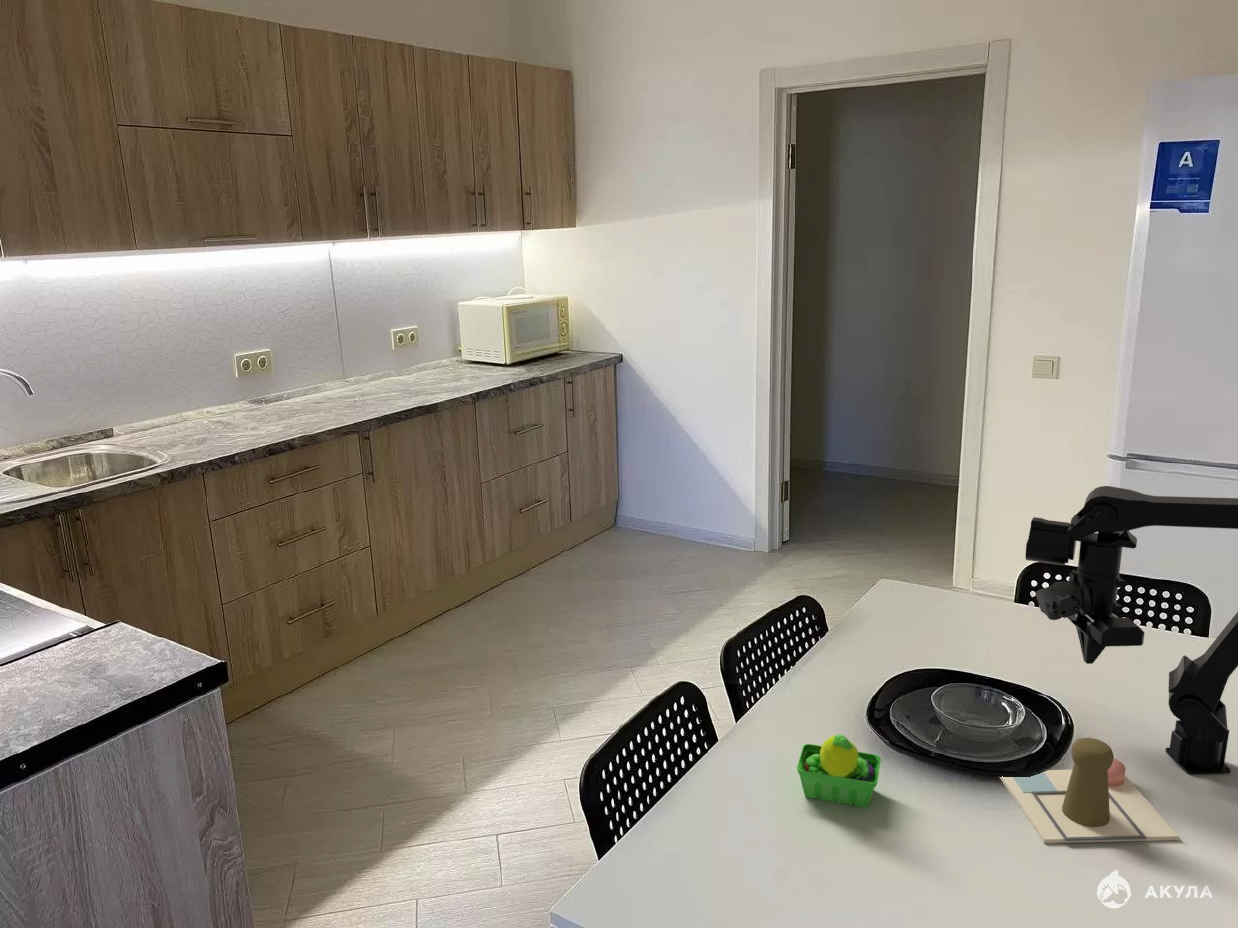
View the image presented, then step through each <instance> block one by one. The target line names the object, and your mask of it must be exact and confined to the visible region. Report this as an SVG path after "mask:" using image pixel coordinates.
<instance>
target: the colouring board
mask: <svg viewBox="0 0 1238 928" xmlns="http://www.w3.org/2000/svg"><path fill="white" fill-rule="evenodd" d="M1046 770H1047V771H1045V772H1042V773H1040V774H1037V775H1034V776H1031V777H1003V776H1002V777H999V779H1000V780H1001V782H1002V783H1003V785H1004V786H1005V787H1006V790H1007V791H1008V792H1009V794H1010V795H1011V797H1012V798H1013V799H1014V801H1015V802H1016V804H1017V805H1018V807H1019V808H1020V810H1021V811H1022V813H1023V814H1024V816H1025V817H1026V818H1027V820H1028V822H1029V823H1030V825H1031V826H1032V828H1033V829H1034V831H1035V832H1036V834H1037V836H1039V839H1040V840H1041V842H1042V843H1043V844H1067V843H1068V844H1069V843H1071V844H1073V843H1102V842H1103V843H1107V842H1109V843H1110V842H1112V843H1113V842H1116V843H1117V842H1150V841H1152V842H1153V841H1155V842H1156V841H1157V842H1159V841H1179V839H1180V835H1178V833H1177V832H1176V831H1175V830H1174V828H1173V827H1172V826H1171V825H1170V824H1169V823H1168V822H1167V821H1166V819H1165V818H1163V816H1162V815H1161V814H1160V813H1159V811H1157V810H1156V809H1155V807H1154V806H1153V805H1152V804H1151V803H1150V802H1149V800H1147V799H1146V797H1145V796H1144V794H1142V793H1141V792H1140V791H1139V790H1138V788H1137V787H1136V786H1135V785H1134V784H1133V783H1132V782H1131V780H1130V779H1129V778H1128V777H1127V776H1126V775H1125V778H1124V783H1123V784H1122V785H1120V786H1108V788H1109V811H1110V820H1109V823H1108V824H1106V825H1105V826H1101V827H1089V826H1083V825H1080V824H1077V823H1075V822H1073V821H1071V820H1070V819H1069V818H1067V817H1066V816H1065V815H1064V813H1063V812H1062V805H1063V802H1064V798H1065V795H1066V791H1067V787H1068V784H1069V780H1070V777H1071V773H1072V770H1073V769H1046Z"/></svg>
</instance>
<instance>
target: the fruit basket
mask: <svg viewBox="0 0 1238 928" xmlns="http://www.w3.org/2000/svg"><path fill="white" fill-rule="evenodd" d="M881 761H882V759H881V756H880V755H878V754H873V753H867V752H861V751H858V748H857V747H856V745H855V744H854V743H853V742H852V741H850V740H849V739H848V737H846V736H845V735H843V734H836V735H835V734H834V735H832V736H830V737H828V738H827V739H825V740H824V741H823V743H822V745H819V744H818V745H817V744H811V743H805V744H804V745H802V748H801V753H800V756H799V759H798V763H797V765H796V770H797V773H798V775H799V779H800V782H801V787H802V790H803V793H804V797H806V798H809V799H810V798H811V799H815V800H816V799H817V800H818V799H819V800H821V801H827V802H832V803H833V802H834V803H835V802H836V803H838V804H843V805H848V806H849V805H850V806H851V805H854V807H859V808H867V809H868V807H869V804H870V801H871V798H872V796H873V793H874V791H875V788H876V787H877V784H878V782H879V776H880V775H879V774H880V768H881Z"/></svg>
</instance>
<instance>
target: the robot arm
mask: <svg viewBox="0 0 1238 928" xmlns="http://www.w3.org/2000/svg"><path fill="white" fill-rule="evenodd" d="M1156 526H1159V527H1178V528H1179V527H1182V528H1204V529H1206V528H1208V529H1226V530H1227V529H1229V530H1230V529H1231V530H1238V497H1208V496H1207V497H1203V496H1202V497H1199V496H1164V495H1162V496H1161V495H1158V496H1157V495H1151V494H1146V493H1142V492H1140V491H1136V490H1132V489H1129V488H1123V487H1122V488H1121V487H1116V486H1111V485H1103V486H1097V487H1095V488H1093V490H1091V491H1090V492H1089V493H1088V495H1087V497H1086V498H1085V501H1084V504H1083V507H1082V508H1081V509H1080V510H1079V511H1078V512H1077V513H1076V514H1073V517H1071V519H1070V522H1066V521H1059V520H1058V521H1057V520H1050V519H1049V520H1048V519H1045V518H1042V517H1035V516H1033V517H1032V518H1031V522H1030V529H1029V533H1028V539H1027V541H1026V544H1025V560H1026V561H1031V562H1038V563H1045V564H1052V565H1058V566H1065V565H1066V564H1069V561H1074V559H1075V554H1076V553H1075V552H1076V547H1077V542H1079V553H1078V564H1077V569H1076V570H1074V569H1072V570H1071V572H1070V573H1069V578H1068V580H1067V581H1055V582H1053V584H1052V585H1050V586H1047V587H1044V588H1042V589H1041V588H1040V589H1038V590H1037V591H1035V597H1036V599H1037V603H1038V605H1039V609H1040V612H1041V613H1043V614H1044V615H1045V616H1046V617H1047V618H1048V619H1049V620H1050V621H1057V620H1061V619H1066V618H1067V620H1069V621H1070V622H1071V623H1072V624H1073V625H1074V626H1075V629H1076V631H1077V635H1078V639H1079V644H1080V650H1081V654H1082V658H1083V662H1084V663H1085V664H1087V665H1092V664H1094V662H1095V661H1096V660H1097V659H1098V658H1099V656H1100V655H1101V654H1102V652H1103V651H1104V650H1105V648H1107V647H1132V646H1133V647H1140V646H1142V645H1144V641H1145V634H1146V633H1145V631H1144V630H1143V629H1142V628H1141V627H1140V626H1138V624H1136V623H1135V622H1133V620H1131V619H1130V618H1129V617H1128V616H1126V617H1119V616H1117V615H1116V613H1122V605H1121V604H1120V603H1118V602H1117V598H1118V597H1117V595H1118V589H1119V588H1125V583H1126V580H1124V579H1122V578H1121V577H1120V571H1121V562H1122V561H1121V560H1122V555H1123V553H1122V552H1123V548H1127V549H1136V548H1137V544H1138V538H1137V537H1136V536H1135V535H1134V534H1133V533H1131V532H1130V531H1133V530H1137V529H1141V528H1145V527H1156ZM1237 668H1238V611H1236V613H1235V614H1234V616H1233V617H1232V618H1231V620H1229V622H1228V623H1227V624H1226V626H1225V627H1224V628H1223V629H1222V631H1221V632H1220V634H1219V635H1217V637H1216V639H1214V641H1213V643H1212V644H1210V646H1209V647H1208V648H1207V649H1206V651H1205V652H1204V653H1203V654H1202V655H1201V656H1199V657H1197V658H1195V659H1193V660H1192V659H1191V658H1189V657H1188V656H1187V655H1185V654H1183V656H1182V657H1181V658H1180V661H1179V663H1178V665H1177V666H1176V667H1175V668H1174V669H1173V670H1171V671H1169V672H1168V690H1167V691H1168V707H1169V709H1170V713H1172V715H1173V716H1174V717H1176V718H1177V720H1175V726H1174V730H1172V731H1171V735H1170V744H1169V747H1166V748H1165V753H1166V754H1167V755H1168V756H1169V757H1170V758H1171V759H1172V760H1173V761H1174V762H1176V763H1177V764H1178V766H1180V767H1181V768H1182V769H1183V771H1185V772H1186V773H1187V774H1189V775H1200V774H1202V775H1203V774H1230V773H1231V771H1232V769H1231V768H1230V766H1229V765H1227V764H1226V763H1225V762H1226V754H1227V750H1228V749H1227V747H1228V743H1229V742H1228V741H1229V737H1230V730H1229V729H1228V718H1227V708H1226V707H1227V706H1226V704H1225V703H1224V702H1223V701H1222V700H1221V698H1222V696H1223V692H1224V690H1225V687H1226V685H1227V683H1228V681H1229V678H1230V677H1231V675H1232V674H1233V673H1234V672H1235V670H1236V669H1237Z"/></svg>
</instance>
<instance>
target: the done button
mask: <svg viewBox="0 0 1238 928" xmlns="http://www.w3.org/2000/svg"><path fill="white" fill-rule="evenodd" d="M1126 769H1127V768H1126V765H1125V764H1124V763H1123V762H1122V761H1120V760H1118V759H1117V758H1114V760H1113V763H1112V765H1111V767H1110V768H1109V769H1108V786H1120V785H1122V784H1123V783H1124V778H1125V776H1126Z"/></svg>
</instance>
